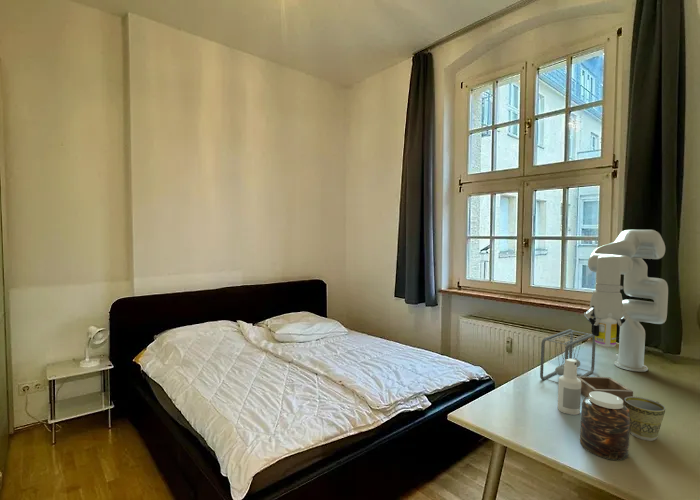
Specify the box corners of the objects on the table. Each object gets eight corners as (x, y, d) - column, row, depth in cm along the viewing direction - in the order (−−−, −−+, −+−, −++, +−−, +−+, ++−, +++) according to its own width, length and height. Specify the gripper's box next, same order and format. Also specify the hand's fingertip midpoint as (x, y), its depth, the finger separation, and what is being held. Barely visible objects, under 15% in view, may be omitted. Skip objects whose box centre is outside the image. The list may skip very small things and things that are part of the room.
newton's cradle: (566, 388, 151) (568, 345, 150) (539, 380, 159) (541, 338, 158) (594, 372, 169) (596, 333, 168) (569, 365, 178) (571, 328, 177)
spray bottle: (572, 417, 127) (574, 364, 126) (553, 408, 133) (555, 358, 133) (584, 412, 131) (586, 361, 130) (565, 404, 137) (567, 355, 136)
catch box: (574, 388, 151) (575, 376, 151) (609, 389, 150) (609, 377, 150) (594, 403, 138) (594, 390, 137) (632, 405, 137) (633, 391, 137)
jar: (635, 451, 108) (638, 400, 107) (618, 465, 101) (621, 410, 100) (589, 433, 117) (592, 385, 117) (572, 445, 111) (574, 394, 110)
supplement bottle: (613, 343, 145) (615, 310, 144) (617, 348, 139) (619, 314, 138) (593, 341, 147) (594, 308, 147) (596, 346, 141) (597, 312, 141)
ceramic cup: (651, 447, 110) (652, 413, 110) (615, 430, 119) (616, 399, 119) (676, 438, 115) (678, 405, 115) (640, 422, 124) (642, 392, 124)
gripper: (624, 287, 145) (622, 333, 146) (578, 286, 146) (576, 332, 147) (638, 290, 138) (636, 339, 139) (589, 289, 139) (587, 337, 140)
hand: (605, 335), depth 143 cm, fingers closed on supplement bottle, 6 cm apart
